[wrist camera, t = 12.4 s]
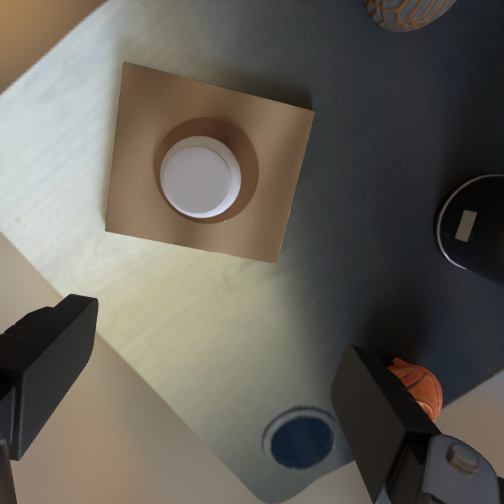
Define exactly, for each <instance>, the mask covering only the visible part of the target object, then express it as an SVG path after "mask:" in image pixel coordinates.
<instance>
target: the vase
mask: <svg viewBox="0 0 504 504" xmlns="http://www.w3.org/2000/svg"><path fill="white" fill-rule="evenodd" d="M456 1H457V0H364V4H365V7H366V10H367V12H368V14H369V16H370V17H371V19H372V20H373V21H374V22H375V23H376V24H377V25H378V26H380V27H381V28H383V29H386V30H389V31H392V32H408V31H412V30H416V29H419V28H421V27H423V26H425V25H427V24H429V23H431V22H433V21H434V20H436V19H437V18H439V17H440V16H441V15H443V14H444V13H445V12H446V11H447V10H448V9H449V8H450V7H451V6H452V5H453V4H454V3H455V2H456Z"/></svg>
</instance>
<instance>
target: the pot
mask: <svg viewBox="0 0 504 504" xmlns="http://www.w3.org/2000/svg"><path fill="white" fill-rule="evenodd" d="M393 362H394V366H390V367H388V369H389V370H390V371H391V372H393V373H394V374H395V375H396V376H398V377H399V378H400V380H401V381H402V382H403V384H404V385H405V386H406V387H407V389H408V392H410V393H411V394H412V395H413V397H414V398H415V399H416V402H418V403H419V404H420V406H421V407H422V408H423V410H424V411H425V412H426V413H427V415H428V416H429V417H430V419H431V420H432V421H433V423H434V421H435V420H436V418H437V417H438V415H439V413H440V410H441V406H442V391H441V390H442V389H441V385H440V383H439V381H438V380H437V379H436V377H435V376H434V375H433V374H432V373H431V372H429V371H428V370H427V369H425V368H423V367H421V366H417V365H411V364H408V363H406V362H404V361H402V360H401V359H399V358H395V359H394V360H393Z"/></svg>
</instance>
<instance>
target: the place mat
mask: <svg viewBox="0 0 504 504" xmlns="http://www.w3.org/2000/svg"><path fill="white" fill-rule="evenodd" d="M314 115H315V111H312V110H308V109H304V108H301V107H297V106H293V105H289V104H285V103H281V102H277V101H274V100H270V99H266V98H262V97H258V96H254V95H250V94H247V93H243V92H239V91H235V90H231V89H227V88H223V87H220V86H216V85H212V84H208V83H204V82H200V81H196V80H193V79H189V78H185V77H181V76H177V75H173V74H169V73H166V72H162V71H158V70H154V69H150V68H146V67H142V66H139V65H135V64H131V63H127V62H124V63H123V71H122V81H121V90H120V99H119V108H118V117H117V127H116V136H115V145H114V154H113V164H112V173H111V182H110V191H109V200H108V210H107V219H106V228H105V231H106V232H111V233H116V234H122V235H127V236H132V237H137V238H142V239H148V240H153V241H158V242H163V243H169V244H174V245H179V246H184V247H189V248H195V249H200V250H205V251H210V252H216V253H221V254H226V255H231V256H236V257H242V258H247V259H252V260H257V261H262V262H268V263H273V264H277V261H278V257H279V253H280V249H281V245H282V241H283V237H284V233H285V229H286V225H287V221H288V217H289V213H290V209H291V205H292V201H293V197H294V194H295V190H296V186H297V182H298V178H299V174H300V170H301V166H302V162H303V158H304V154H305V150H306V146H307V142H308V138H309V134H310V130H311V126H312V123H313V119H314ZM192 136H206V137H210V138H214V139H216V140H218V141H220V142H222V143H223V144H225V145H226V146H227V147H228V148H229V149H230V150H231V152H232V153H233V154H234V156H235V158H236V160H237V162H238V164H239V167H240V172H241V186H240V190H239V193H238V195H237V197H236V199H235V201H234V202H233V203H232V205H231V206H230V207H229V208H228V209H226V210H225V211H224V212H222V213H220V214H218V215H215V216H212V217H207V218H196V217H192V216H188V215H186V214H184V213H182V212H180V211H179V210H177V209H176V208H175V207H174V206H173V205H172V204H171V203H170V202H169V200H168V199H167V197H166V196H165V194H164V192H163V189H162V186H161V181H160V170H161V165H162V162H163V159H164V157H165V155H166V154H167V152H168V151H169V150H170V148H171V147H172V146H174V145H175V144H176V143H178V142H179V141H181V140H183V139H185V138H188V137H192Z"/></svg>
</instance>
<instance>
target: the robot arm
mask: <svg viewBox="0 0 504 504" xmlns="http://www.w3.org/2000/svg"><path fill="white" fill-rule="evenodd" d="M434 238H435V243H436V246H437V248H438V250H439V252H440V253H441V255H442V256H443V257H444V258H445V259H446V260H447V261H449V262H450V263H452V264H454V265H456V266H458V267H461V268H464V269H468V270H470V271H472V272H474V273H476V274H478V275H480V276H482V277H484V278H486V279H489V280H491V281H493V282H495V283H497V284H499V285H502V286H504V175H497V174H484V175H478V176H475V177H472V178H470V179H467V180H465V181H464V182H462V183H461V184H459V185H458V186H456V187H455V188H454V189H453V190H452V191H451V192H450V193H449V194H448V195H447V197H446V198H445V199H444V201H443V202H442V204H441V206H440V208H439V210H438V212H437V215H436V218H435V223H434ZM97 314H98V299H97V298H92V297H87V296H81V295H76V294H69V295H68V296H67V297H66V298H64V299H63V300H62V301H61V302H60V303H58V304H57V305H56V306H55V307H54V308H53V307H47V306H46V307H44V308H41V309H38V310H36V311H33V312H30V313H28V314H27V315H25V316H24V317H23V318H22V319H20V320H19V321H18V322H16V323H15V325H12V326H11V327H10V328H8V329H7V330H6V331H5V332H4V334H0V504H17V501H16V495H15V488H14V482H13V476H12V470H11V464H10V460H16V461H19V460H20V459H21V458H22V456H23V455H24V453H25V452H26V450H27V449H28V447H29V446H30V445H31V443H32V442H33V440H34V439H35V438H36V436H37V435H38V433H39V432H40V430H41V429H42V427H43V426H44V425H45V423H46V422H47V420H48V419H49V418H50V416H51V415H52V413H53V412H54V410H55V409H56V407H57V406H58V405H59V403H60V402H61V400H62V399H63V397H64V396H65V395H66V393H67V392H68V390H69V389H70V387H71V386H72V384H73V383H74V382H75V380H76V379H77V377H78V376H79V375H80V373H81V372H82V370H83V369H84V367H85V366H86V364H87V363H88V361H89V358H90V356H91V353H92V349H93V345H94V338H95V330H96V322H97ZM331 402H332V406H333V408H334V410H335V413H336V415H337V418H338V420H339V423H340V425H341V427H342V430H343V432H344V435H345V437H346V440H347V442H348V444H349V447H350V449H351V452H352V454H353V456H354V459H355V461H356V464H357V466H358V469H359V471H360V473H361V476H362V478H363V481H364V483H365V485H366V488H367V490H368V493H369V495H370V498H371V500H372V502H373V504H504V479H503V478H501V477H498V476H497V475H496V473H495V471H494V469H493V467H492V466H491V465H490V463H489V462H488V461H487V460H486V459H485V458H484V457H483V456H482V455H481V454H480V453H479V452H477V451H476V450H475V449H474V448H472V447H471V446H469V445H468V444H466V443H464V442H463V441H461V440H459V439H457V438H454V437H452V436H448V435H444V434H442V433H441V432H440V430H439V429H438V428H437V427H436V425H435V424H434V423H433V421H432V420H431V419H430V417H429V416H428V415H427V413H426V412H425V411H424V410H423V408H422V407H421V406H420V404H419V403H418V402H416V399H415V398H414V397H413V395H412V394H411V393H410V392H408V389H407V387H406V386H405V385H404V384H403V382H402V381H401V380H400V378H399V377H398V376H396V375H395V374H394V373H393V372H391V371H390V370H389V369H388V368H387V367H385V366H384V365H383V363H382V362H381V361H380V359H379V358H378V357H377V355H376V354H375V353H374V351H373V350H372V349H369V348H364V347H358V346H353V345H348V346H346V348H345V349H344V351H343V354H342V357H341V360H340V362H339V365H338V368H337V371H336V374H335V377H334V380H333V383H332V386H331Z"/></svg>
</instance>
